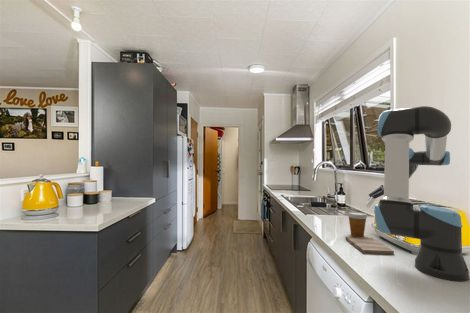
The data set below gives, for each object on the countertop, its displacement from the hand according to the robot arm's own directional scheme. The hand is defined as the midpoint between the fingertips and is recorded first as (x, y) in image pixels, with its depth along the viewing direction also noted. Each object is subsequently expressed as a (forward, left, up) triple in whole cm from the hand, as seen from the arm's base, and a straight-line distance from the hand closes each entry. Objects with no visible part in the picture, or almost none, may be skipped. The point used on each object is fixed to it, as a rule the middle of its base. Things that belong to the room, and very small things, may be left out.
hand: (376, 208), depth 132 cm
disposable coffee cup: (-1, +11, -15) cm, 18 cm away
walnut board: (-19, +14, -15) cm, 27 cm away
